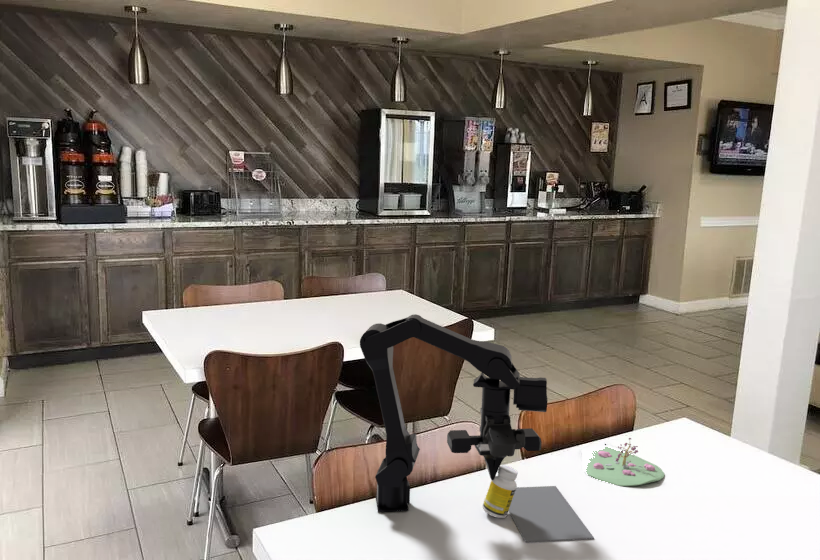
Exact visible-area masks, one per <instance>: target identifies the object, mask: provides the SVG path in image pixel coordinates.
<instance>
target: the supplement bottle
mask: <svg viewBox="0 0 820 560" xmlns="http://www.w3.org/2000/svg"><path fill="white" fill-rule="evenodd" d="M517 477H518V471H517V470H516V469H515V468H514V467H511V466H508V465H506V464H505V465H504V464H500V467H499V469H498V471H497V473H496V476H495V478H494V480H491V479H490V482H489V486H488V488H487V490H486V491H487V492H486V494H485V498H484V499H483V503H482V510H483V511H484V512H485V513H487V514H488V515H489V516H492V517H495V518H498V519H505V518H506V517H507V515H508V513H509V508H510V505H511V502H512V499H513V496H514V493H515V490H516V487H517V485H518V484H517V483H516V481H515V480H516V479H517Z"/></svg>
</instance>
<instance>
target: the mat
mask: <svg viewBox="0 0 820 560" xmlns="http://www.w3.org/2000/svg"><path fill="white" fill-rule="evenodd" d="M508 513H509V515H510V516H511V519H512V521H513V522H514V524H515V526H516V527H517V530H518V531H519V533H520V535H521V537H522V539H523V540H524V542H525V543H544V542H546V543H547V542H561V541H563V542H565V541H581V540H583V541H585V540H594V539H595V537H594V536H593V533H591V531H590V530H589V528H588V527H587V526H586V525H585V523H584V522H583V521H582V520H581V518H580V517H579V515H578V514H577V513H576V511H575V510H574V508H573V507H572V506H571V504H570V503H569V502H568V501H567V499H566V498H565V496H564V495H563V494H562V492H561V491H560V490H559V488H558V487H557V485H550V486H549V485H548V486H547V485H545V486H543V485H542V486H521V487H520V486H519V487H516V490H515V493H514V496H513V499H512V502H511V505H510V508H509V511H508Z"/></svg>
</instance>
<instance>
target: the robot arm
mask: <svg viewBox="0 0 820 560" xmlns="http://www.w3.org/2000/svg"><path fill="white" fill-rule="evenodd" d="M360 337H361V338H360V339H359V347H360V349H361V352H362V355H363V357H364V360H365V362H366V364H367V365H368V366H369V368H370V369H371V371H372V375H373V379H374V382H375V383H374V384H375V387H376V388H375V389H376V393H377V397H378V401H379V407H380V410H381V415H382V416H381V417H382V420H383V426H384V430H385V436H386V441H385V457H384V458H383V459H382V461H381V463H380V465H379V466H378V470H377V472H376V474H375V477H374V478H375V480H376V495H375V502H376V509H377V512H378V513H388V512H389V513H390V512H391V513H392V512H407V511H409V504H410V500H411V497H410V496H411V485H410V481H409V480H408V476H410V475H411V474H412V472H413V470H414V467H415V464H416V461H417V458H418V456H419V453H420V450H421V449H420V447H419V445H418V443H417V442H418V441H417V433H411V434H410V433H409V431H408V430H407V427H406V424H405V419H404V414H403V409H402V404H401V400H400V396H399V389H398V386H397V381H396V376H395V371H394V367H393V366H394V365H393V364H394V363H393V361H394V360H393V359H394V346H397V345H398V344H401V343H402V342H405V341H407V340H409V339H412V338H415V339H417V340H419V341H422V342H423V343H427V344H429V345H431V346H433V347H436V348H437V349H440V350H442V351H445V352H447V353H449V354H452V355H453V356H456V357H458V358H460V359H463V360H465V361H466V362H468V363H469V364H470V365H472V367H474V368H475V369H476V370H477V371H479V372H480V374H479V376H477V377H475V378H474V379H473V383H472V385H473V387H475V388H481V407H480V408H479V409H480V410H479V411H480V426H479V433H480V435H479V434H478V435H469V433H468V431H467V430H466V429H457V430H456V429H454V430H453V429H452V430H449V431H448V433H447V437H446V443H447V446H448V447H449V450H450V451H451V453H453V454H468V453H469V452H470V451H471V450H472V446H474V447H475V450H476V451H477V453H478V454H479V455H480V456H482V457H483V458H484V462H485V466H486V468H487V472H488V475H489V478H490V481H491V480H494V478H495V476H496V474H498V469H499V467H500V465H502V462H503V461H504V459H505V458H506V457H513V456H514V455H515V452H516V450H522V449H524V450H525V451H527V452H540V451H541V450H542V443H543V442H542V438H541V437H540V436H539V435H538V434H539V433H537V432H536V431H535V430H534V429H533V428H516V429H515V428H512V424H511V422H512V421H511V415H510V405H511V404H510V403H511V390H513V394H512V395H513V396H512V397H513V398H512V399H513V400H512V405H514V406H515V407H516V408H515V409H518V411H524V412H527V411H528V412H536V413H537V412H538V413H547V411H548V395H547V394H548V393H547V391H548V390H547V389H548V387H547V385H548V380H547V378H546V377H526V376H524V377H523V376H522V377H521V374H520V372H519V370H518V369H517V367H516V366H515V365H514V363H513V357H512V354H511V351H510V349H508V347H506V346H504V345H501V344H498V343H493V342H489V341H481V340H475V339H472V338H470V337H468V336H465V335H463V334H460V333H458V332H456V331H454V330H451V329H449V328H446V327H444V326H443V325H439V324H437V323H435V322H433V321H430V320H429V319H425V318H423V317H422V316H421V315H420V314H414V313H413V314H410V315H409V316H408V317H407V316H406V317H404V318H401V319H397V320H393V321H391V322H388V323H386V324H383V323H380V322H379V323H374V324H372V325H371V326H369V327H368V328H367V330H365V332H364V333H363V334H362V335H361V336H360Z"/></svg>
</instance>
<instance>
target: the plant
mask: <svg viewBox="0 0 820 560" xmlns="http://www.w3.org/2000/svg"><path fill="white" fill-rule="evenodd" d="M628 440H629V441H631V440H632V438H631V437H629V438H628ZM623 445H624V447H623V446H622V444H620V446H617V448H618V449H620V450H622V451H621V452H620V451H616V450H614V449H611V448H608V447H605V449H603V450H599V451H598V452H597V451H595V452H596V453H595V452H594V451H593V452H594V454H595V455H594V454H593V453H592V454H593V456H595V458H594V457H593V459H592V458H591V459H589V460H590V461H591V462H590V463H588V465H587V466H588V467H587V469H586V470H587V471H586V472H587V474H588V475H587V474H586V475H587V476H589V477H590V476H591V478H592V477H593V478H592V479H594V478H595V479H594V480H596V479H598V480H597V481H599V480H601V481H600V482H602V481H605V482H604V483H606V482H608V483H607V484H610V483H611V484H610V485H613V484H614V486H619V487H634V486H640V485H645V484H649V483H653V482H654V483H655V482H659V481H661V480H662V479H664V477H665V472H664V471H663V469H662V468H660V467H659V466H658V465H657V464H654V463H652V462H650V461H648V460H645V459H643V458H642V457H639V456H638V455H635V454H637V453H639V451H638V449H636V448H638V445H636V446H635V445H633V446H632V444H631V443H628V442H625V443H624V444H623ZM627 445H628V447H627ZM626 447H627V449H626ZM623 451H625V453H623ZM629 453H630V454H629ZM631 454H633V455H631Z"/></svg>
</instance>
